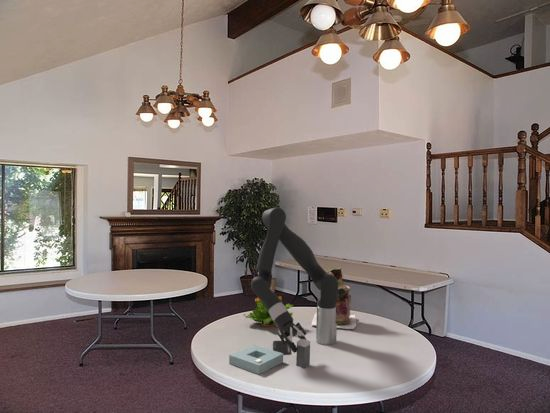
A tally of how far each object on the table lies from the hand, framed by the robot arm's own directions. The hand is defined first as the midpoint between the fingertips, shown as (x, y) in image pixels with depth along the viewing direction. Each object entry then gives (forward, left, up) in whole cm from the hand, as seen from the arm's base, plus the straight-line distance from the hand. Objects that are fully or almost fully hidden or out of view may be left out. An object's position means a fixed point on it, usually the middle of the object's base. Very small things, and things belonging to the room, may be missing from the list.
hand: (302, 348), depth 158 cm
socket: (+18, -4, -7) cm, 20 cm away
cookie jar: (-31, -58, -7) cm, 66 cm away
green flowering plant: (+5, -56, -7) cm, 56 cm away
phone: (+6, -20, -7) cm, 22 cm away
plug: (-1, 0, -7) cm, 7 cm away
